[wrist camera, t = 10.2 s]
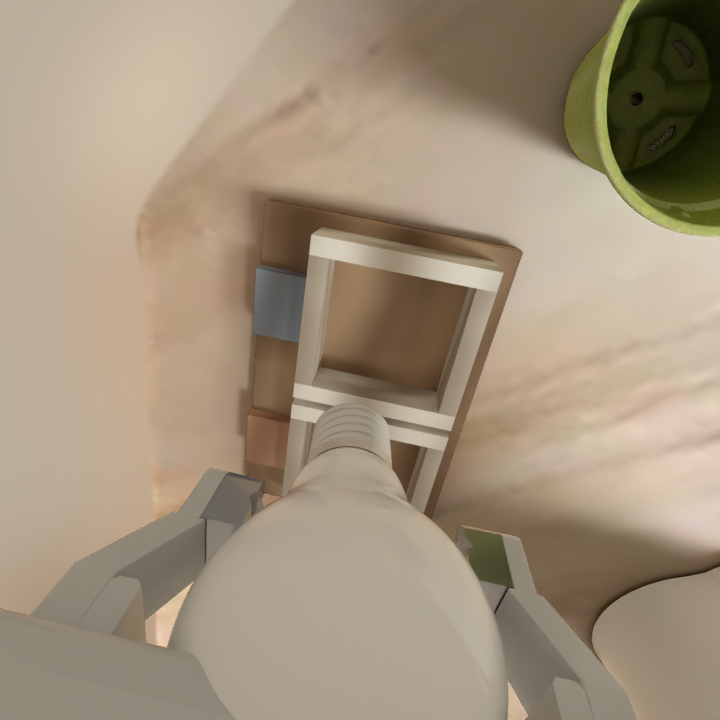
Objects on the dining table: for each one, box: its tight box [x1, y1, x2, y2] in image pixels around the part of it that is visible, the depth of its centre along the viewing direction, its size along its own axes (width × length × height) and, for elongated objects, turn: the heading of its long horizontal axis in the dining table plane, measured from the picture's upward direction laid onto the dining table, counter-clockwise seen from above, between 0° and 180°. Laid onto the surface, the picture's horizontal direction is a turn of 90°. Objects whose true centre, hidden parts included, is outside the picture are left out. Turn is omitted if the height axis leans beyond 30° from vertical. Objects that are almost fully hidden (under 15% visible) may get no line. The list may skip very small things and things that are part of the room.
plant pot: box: [564, 0, 720, 237], centre depth 15 cm, size 9×9×9 cm
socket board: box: [245, 200, 523, 519], centre depth 26 cm, size 14×21×4 cm, turn 171°
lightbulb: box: [167, 403, 509, 720], centre depth 10 cm, size 6×6×11 cm
